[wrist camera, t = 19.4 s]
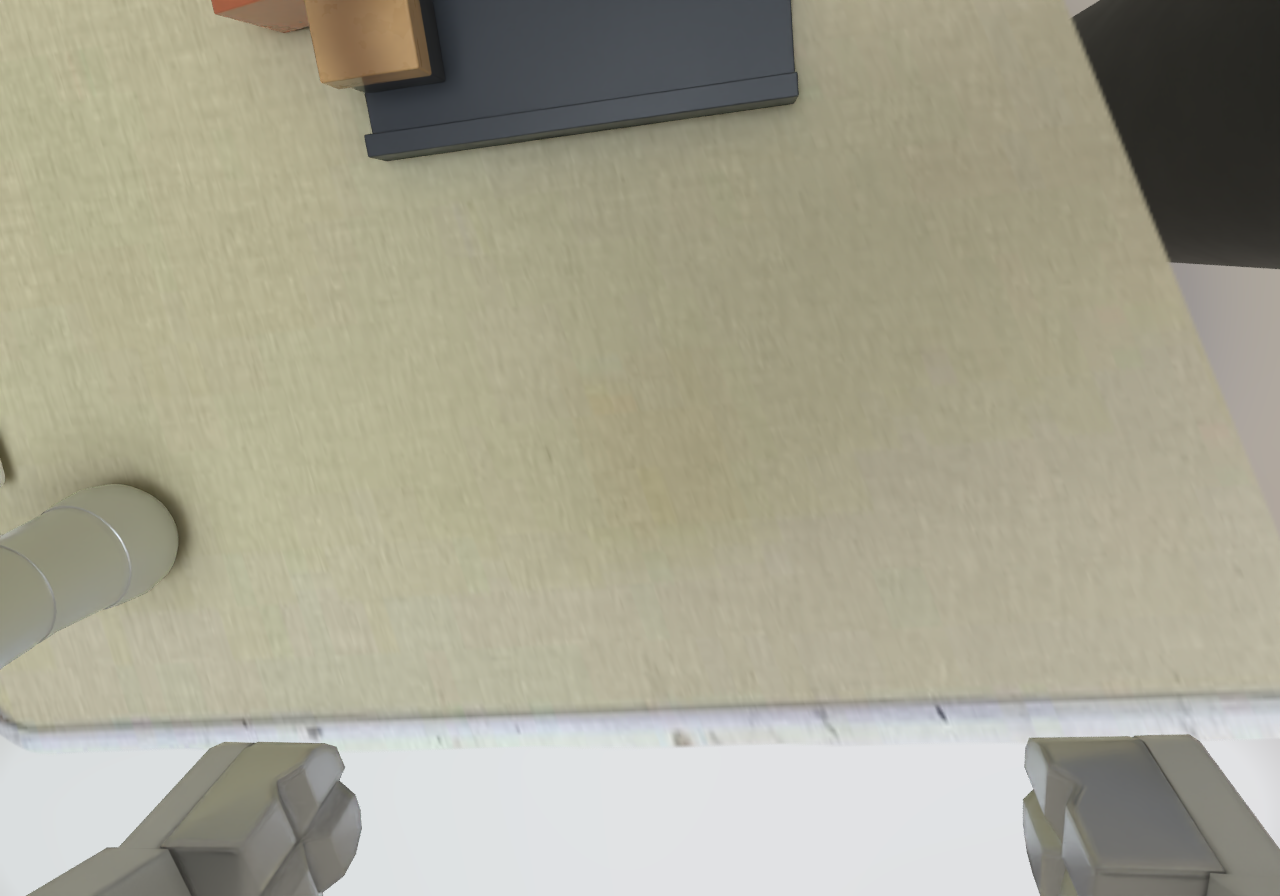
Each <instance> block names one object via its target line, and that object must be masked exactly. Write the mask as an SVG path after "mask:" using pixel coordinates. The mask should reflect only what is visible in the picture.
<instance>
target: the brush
mask: <svg viewBox="0 0 1280 896" xmlns="http://www.w3.org/2000/svg"><path fill="white" fill-rule="evenodd" d="M304 3H305V8H306V13H307V17H308V22H309V27H310V32H311V37H312V42H313V47H314V52H315V57H316V62H317V66H318V71H319V76H320V81H321V82H322V83H324V84H327V85H329V86H332V87H335V88H337V89H343V88H350V87H352V88H354V89H357V90H359V91H362V92H364V93H373V92H379V91H386V90H393V89H400V88H406V87H413V86H420V85H427V84H434V83H440V82H445V73H444V67H443V61H442V55H441V49H440V43H439V37H438V31H437V25H436V19H435V12H434V6H433V0H304Z"/></svg>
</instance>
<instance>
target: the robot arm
mask: <svg viewBox="0 0 1280 896" xmlns="http://www.w3.org/2000/svg"><path fill="white" fill-rule="evenodd" d="M344 769H345V766H344V764H343V761H342V759H341V757H340V754H339V752H338V750H337V747H335V746H332V745H328V744H325V743H282V742H257V743H239V742H223V743H221V744H219V745H217V746H214V747H212V748H210V749H209V750H208V751H207V752H206V753H205V754H204V755H203V756H202V758H201V759H200V760H199V761H198V762H197V763H196V764H195V765H194V766H193V767H192V769H190V771H189V772H188V773H187V774H186V775H185V776H184V777H183V778H182V779H181V780H180V782H178V784H177V785H176V786H175V787H174V788H173V789H172V790H171V791H170V792H169V793H168V794H167V795H166V797H165V798H164V799H163V800H162V801H161V802H160V803H159V804H158V805H157V806H156V807H155V809H154V810H153V811H152V812H151V813H150V814H149V815H148V816H147V817H146V819H144V820H143V822H142V823H141V824H140V825H139V826H138V827H137V828H136V829H135V830H134V831H133V832H132V833H131V834H130V836H129V837H128V838H127V839H126V840H125V841H124V842H123V843H122V844H121V845H120V846H119V847H118V848H117V847H116V848H115V847H114V848H106V849H104V850H102V851H101V852H99V853H97V854H96V855H94V856H92V857H91V858H89V859H87V860H85V861H84V862H82V863H80V864H79V865H77V866H76V867H74V868H72V869H70V870H69V871H67V872H65V873H64V874H62V875H60V876H59V877H57V878H55V879H53V880H52V881H50V882H48V883H47V884H45V885H43V886H42V887H40V888H38V889H37V890H35V891H33V892H32V893H30V894H28V895H27V896H323V892H324V891H325V890H327V889H328V888H329V887H330V886H332V885H333V884H334V883H336V882H337V881H338V880H339V879H340V878H342V877H343V876H344V875H345V873H346V871H347V869H348V867H349V865H350V864H351V862H352V860H353V858H354V856H355V854H356V850H357V846H358V842H359V838H360V833H361V829H362V826H361V810H360V807H359V804H358V801H357V798H356V796H355V794H354V793H353V792H352V791H350V790H349V789H348V788H347V787H346V786H345V785H344V784H342V783H341V782H340V781H339V780H340V778H341V775H342V773H343V771H344ZM1025 769H1026V772H1027V774H1028V777H1029V779H1030V782H1031V784H1032V787H1033V790H1032V791H1031V792H1030V793H1029V794H1028V795H1027V796H1026V797H1025V798H1024V799H1023V827H1024V835H1025V841H1026V849H1027V854H1028V858H1029V862H1030V865H1031V869H1032V873H1033V876H1034V879H1035V882H1036V884H1037V887H1038V890H1039V893H1040V896H1280V849H1279V847H1278V846H1277V845H1276V844H1275V842H1274V841H1273V839H1272V838H1271V837H1270V835H1269V834H1268V833H1267V831H1266V830H1265V829H1264V827H1263V826H1262V824H1261V823H1260V822H1259V820H1258V819H1257V818H1256V816H1255V815H1254V814H1253V812H1252V811H1251V810H1250V808H1249V807H1248V806H1247V805H1246V803H1245V802H1244V800H1243V799H1242V798H1241V796H1240V795H1239V793H1238V792H1237V791H1236V790H1235V788H1234V787H1233V785H1232V784H1231V783H1230V781H1229V780H1228V779H1227V777H1226V776H1225V775H1224V773H1223V772H1222V770H1221V769H1220V768H1219V766H1218V765H1217V764H1216V763H1215V761H1214V760H1213V758H1212V757H1211V756H1210V754H1209V753H1208V752H1207V750H1206V749H1205V747H1204V746H1203V745H1202V743H1201V742H1200V741H1198V740H1197V739H1195V738H1194V737H1192V736H1191V735H1144V736H1134V737H1129V736H1121V737H1056V738H1029V740H1028V743H1027V745H1026V750H1025Z"/></svg>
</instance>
